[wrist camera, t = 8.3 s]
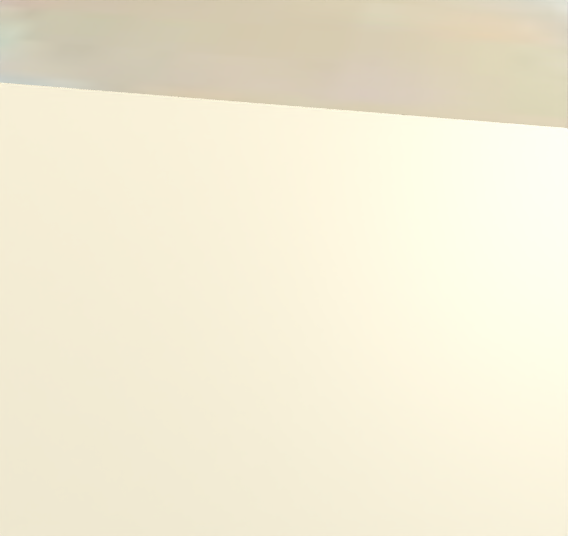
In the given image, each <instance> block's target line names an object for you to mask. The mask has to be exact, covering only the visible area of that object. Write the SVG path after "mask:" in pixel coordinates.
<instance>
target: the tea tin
mask: <svg viewBox="0 0 568 536" xmlns="http://www.w3.org/2000/svg"><path fill="white" fill-rule="evenodd" d="M0 536H568V128H559V127H546V126H534V125H522V124H509V123H497V122H484V121H472V120H459V119H447V118H434V117H422V116H409V115H397V114H384V113H372V112H359V111H347V110H334V109H322V108H310V107H297V106H285V105H272V104H260V103H247V102H235V101H222V100H210V99H197V98H185V97H172V96H160V95H147V94H135V93H122V92H110V91H98V90H85V89H73V88H60V87H48V86H35V85H23V84H10V83H0Z"/></svg>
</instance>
